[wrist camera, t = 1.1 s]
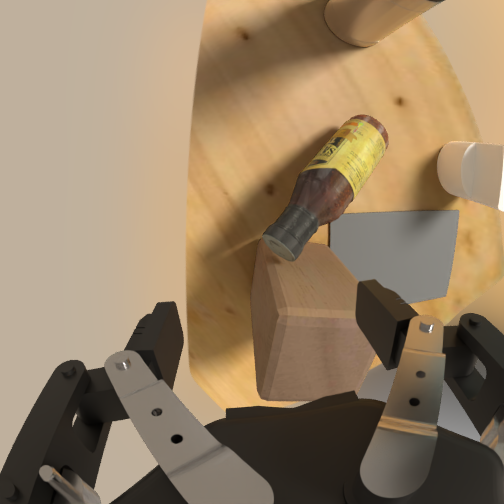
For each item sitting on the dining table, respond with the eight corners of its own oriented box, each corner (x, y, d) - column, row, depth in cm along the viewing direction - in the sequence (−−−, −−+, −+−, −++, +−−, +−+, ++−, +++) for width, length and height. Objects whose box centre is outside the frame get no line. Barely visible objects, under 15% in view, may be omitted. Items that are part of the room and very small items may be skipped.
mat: (329, 214, 38) (330, 214, 38) (458, 210, 39) (459, 210, 38) (326, 315, 44) (327, 316, 43) (445, 295, 44) (446, 296, 44)
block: (249, 300, 42) (256, 404, 23) (258, 234, 39) (275, 312, 20) (314, 305, 43) (357, 402, 24) (329, 242, 40) (395, 318, 21)
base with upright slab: (469, 198, 38) (518, 215, 27) (433, 191, 37) (485, 207, 26) (474, 148, 35) (524, 154, 24) (438, 135, 35) (491, 137, 23)
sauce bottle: (360, 102, 29) (258, 214, 24) (400, 136, 29) (315, 262, 24) (339, 131, 36) (247, 235, 30) (374, 161, 35) (293, 273, 30)
